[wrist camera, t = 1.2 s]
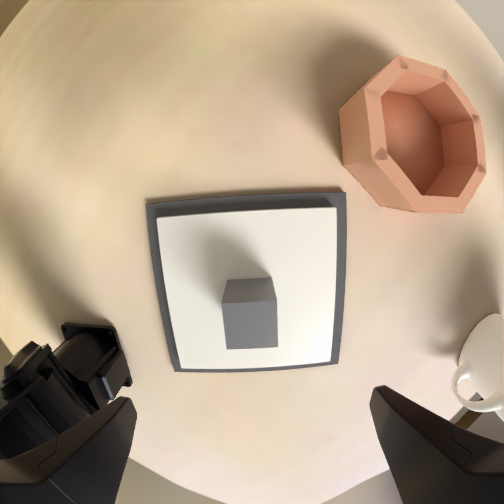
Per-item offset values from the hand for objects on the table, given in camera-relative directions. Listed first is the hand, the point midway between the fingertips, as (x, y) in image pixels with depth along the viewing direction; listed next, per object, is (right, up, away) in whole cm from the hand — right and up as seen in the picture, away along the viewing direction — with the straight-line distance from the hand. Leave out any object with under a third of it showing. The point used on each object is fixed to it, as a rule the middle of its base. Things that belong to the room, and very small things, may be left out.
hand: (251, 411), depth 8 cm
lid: (0, +2, +11) cm, 12 cm away
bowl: (+11, +14, +9) cm, 20 cm away
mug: (+26, -6, +14) cm, 30 cm away
